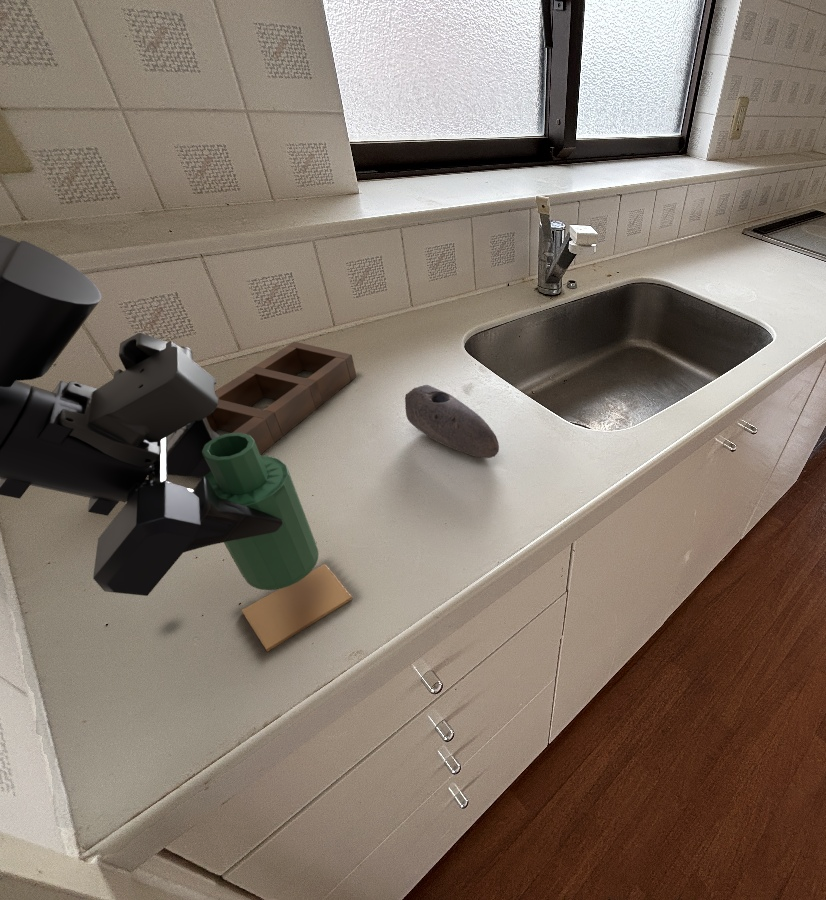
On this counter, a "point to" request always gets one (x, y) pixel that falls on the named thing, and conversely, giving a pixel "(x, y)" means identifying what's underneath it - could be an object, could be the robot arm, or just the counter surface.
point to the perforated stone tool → (450, 422)
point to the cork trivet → (296, 607)
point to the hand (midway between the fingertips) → (274, 500)
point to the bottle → (269, 491)
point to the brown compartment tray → (280, 392)
